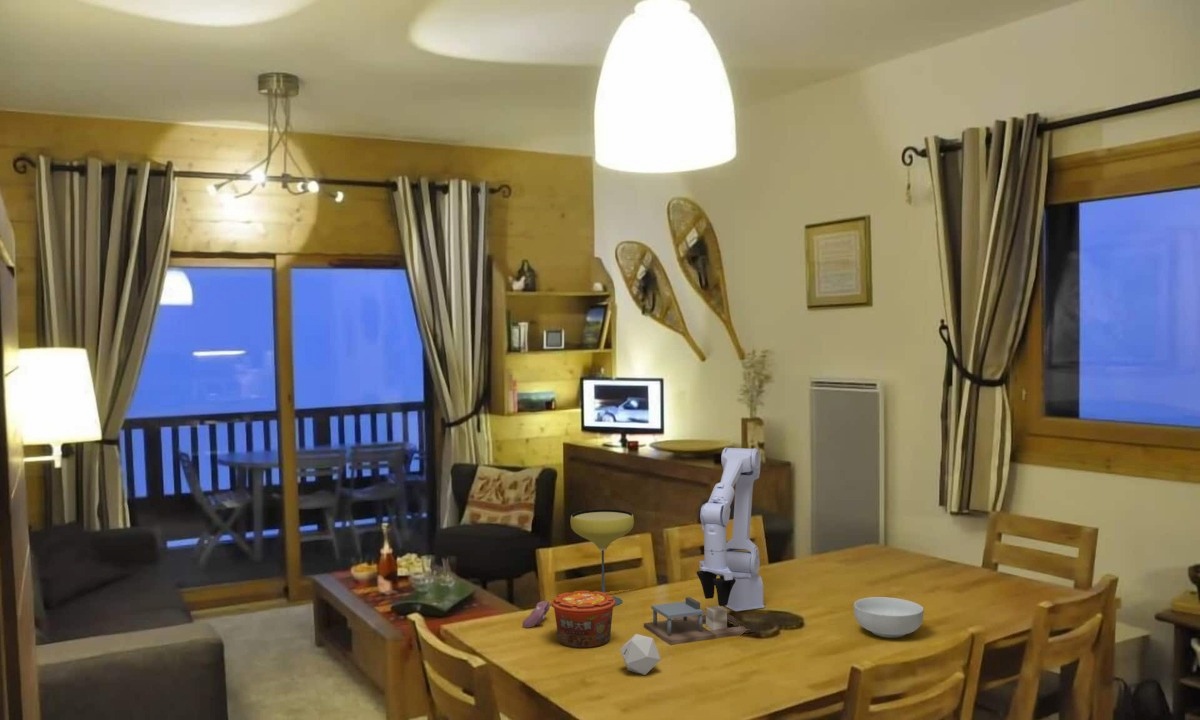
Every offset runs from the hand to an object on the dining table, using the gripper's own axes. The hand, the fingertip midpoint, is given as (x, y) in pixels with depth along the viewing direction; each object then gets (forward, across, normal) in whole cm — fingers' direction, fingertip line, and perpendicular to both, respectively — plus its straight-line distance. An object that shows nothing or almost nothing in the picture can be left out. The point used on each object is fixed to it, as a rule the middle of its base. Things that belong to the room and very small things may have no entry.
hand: (716, 601), depth 253 cm
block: (+7, 0, 0) cm, 7 cm away
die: (+7, +22, -31) cm, 39 cm away
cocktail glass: (+7, -35, -18) cm, 40 cm away
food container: (+7, -4, -35) cm, 36 cm away
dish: (+7, -15, -3) cm, 17 cm away
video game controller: (+7, -23, -41) cm, 48 cm away
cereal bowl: (+7, +22, +37) cm, 44 cm away
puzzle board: (+7, 0, -5) cm, 8 cm away
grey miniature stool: (+5, 0, -11) cm, 12 cm away
